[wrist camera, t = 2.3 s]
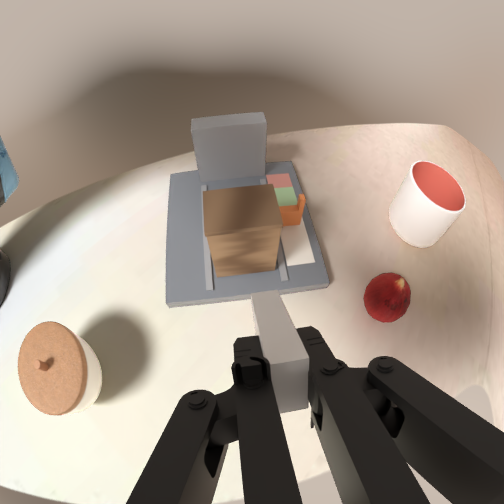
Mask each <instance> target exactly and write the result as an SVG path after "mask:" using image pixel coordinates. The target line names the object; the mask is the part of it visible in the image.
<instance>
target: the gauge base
mask: <svg viewBox="0 0 504 504" xmlns="http://www.w3.org/2000/svg"><path fill="white" fill-rule="evenodd" d="M191 133H192V140H193V145H194V150H195V156H196V161H197V166H198V170H195V171H188V172H181V173H175V174H171V176H170V188H169V201H168V217H167V240H166V304H167V305H168V306H169V308H170V307H181V306H191V305H201V304H210V303H219V302H228V301H236V300H244V299H251V293H257V292H265V291H272V290H278V292H279V294H280V295H282V294H289V293H296V292H302V291H309V290H315V289H322V288H327V286H328V285H329V283H330V282H329V278H328V274H327V271H326V267H325V264H324V260H323V257H322V253H321V250H320V247H319V243H318V240H317V237H316V233H315V230H314V227H313V224H312V221H311V217H310V214H309V211H308V208H307V205H306V202H305V206H304V210H303V214H302V218H301V223H300V225H292V226H283V228H281V233H280V240H279V246H278V253H277V259H276V266H275V270H274V271H266V272H258V273H250V274H242V275H234V276H226V277H217V275H216V272H215V268H214V264H213V260H212V256H211V253H210V249H209V245H208V241H207V237H205V234H204V216H203V191H208V190H217V189H225V188H234V187H243V186H253V185H264V184H273V186H274V190H275V193H276V197H277V201H278V205H279V206H290V205H297V202H298V197H299V194H303V193H302V190H301V187H300V184H299V181H298V178H297V176H296V173H295V170H294V167H293V164H292V162H291V161H285V162H271V163H265V159H266V136H267V121H266V118H265V116H264V113H263V112H253V113H240V114H230V115H219V116H210V117H203V118H195V119H192V120H191Z"/></svg>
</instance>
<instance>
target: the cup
mask: <svg viewBox="0 0 504 504" xmlns="http://www.w3.org/2000/svg"><path fill="white" fill-rule="evenodd" d="M465 205H466V199H465V195H464V192H463V190H462V188H461V186H460V185H459V183H458V182H457V181H456V179H455V178H454V177H453V176H452V175H451V174H450V173H449V172H447V171H446V170H445V169H443V168H442V167H440V166H439V165H437V164H434V163H432V162H429V161H416V162H414V163H413V164H412V165H411V167H410V169H409V171H408V173H407V175H406V177H405V179H404V181H403V182H402V184H401V186H400V188H399V190H398V192H397V193H396V195H395V197H394V199H393V201H392V202H391V204H390V207H389V219H390V223H391V225H392V227H393V229H394V231H395V232H396V233H397V235H398V236H399V237H400V238H401V239H402V240H404V241H405V242H406V243H408V244H410V245H412V246H414V247H418V248H427V247H430V246H432V245H434V244H435V243H436V242H437V241H438V240H439V239H440V237H441V236H442V235H443V234H444V233H445V232H446V231H447V229H448V228H449V227H450V226H451V225H452V223H453V222H454V221H455V220H456V219H457V217H458V216H459V215H460V214H461V212H462V211H463V210H464V208H465Z"/></svg>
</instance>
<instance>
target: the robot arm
mask: <svg viewBox="0 0 504 504" xmlns="http://www.w3.org/2000/svg"><path fill="white" fill-rule="evenodd" d="M18 183H19V177H18V175H17V173H16V170H15V168H14V166H13V164H12V162H11V159H10V157H9V155H8V153H7V150H6V148H5V146H4V143H3V141H2V138H1V136H0V207H1V205H3V204H4V203H5V202H6V201H7V199H8V197H9V196H10V195H11V194H12V193H13V192H14V191H15V190H16V188H17V186H18ZM9 278H10V262H9V259H8V257H7V255H6V254H5V253H4V252H3V251H2V250H1V249H0V305H1V303H2V301H3V299H4V296H5V294H6V291H7V287H8V283H9ZM251 300H252V309H253V317H254V326H255V334H256V336H249V337H242V338H237V340H236V341H235V343H234V344H233V346H234V363H233V364H232V367H231V369H232V374H233V379H234V385H233V386H232V387H231V388H230V389H228V390H227V391H225V392H222V393H220V394H217V395H214V394H213V393H211V392H210V391H206V390H194V391H190V392H188V393H186V394H185V395H183V396H182V398H181V399H180V400H179V402H178V404H177V406H176V408H175V410H174V412H173V414H172V416H171V418H170V420H169V422H168V424H167V426H166V427H165V429H164V431H163V433H162V435H161V437H160V439H159V441H158V443H157V445H156V447H155V449H154V451H153V453H152V455H151V456H150V458H149V460H148V462H147V464H146V466H145V468H144V470H143V472H142V474H141V476H140V478H139V480H138V481H137V483H136V485H135V487H134V489H133V491H132V493H131V495H130V497H129V499H128V501H127V503H126V504H211V503H212V500H213V497H214V493H215V490H216V487H217V483H218V480H219V477H220V473H221V470H222V466H223V463H224V459H225V456H226V452H227V449H228V444H229V443H231V442H234V441H237V440H239V449H240V460H241V471H242V481H243V491H244V501H245V504H302V499H301V496H300V492H299V488H298V484H297V480H296V476H295V472H294V469H293V465H292V461H291V457H290V453H289V449H288V445H287V441H286V437H285V433H284V429H283V425H282V421H281V417H280V413H285V412H291V411H296V410H301V409H306V408H308V403H309V402H310V405H311V428H314V425H315V428H316V431H317V434H318V437H319V439H320V442H321V445H322V448H323V450H324V453H325V456H326V459H327V462H328V464H329V467H330V470H331V473H332V475H333V478H334V481H335V484H336V487H337V489H338V492H339V495H340V498H341V500H342V503H343V504H430V502H429V500H428V499H427V497H426V495H425V494H424V492H423V490H422V488H421V487H420V485H419V483H418V481H417V480H416V478H415V476H414V474H413V473H412V471H411V469H410V468H409V466H408V464H409V465H410V466H411V467H412V468H413V469H415V470H416V471H417V472H418V473H419V474H420V475H421V476H422V477H423V478H424V479H425V480H426V481H427V482H429V483H430V484H431V485H432V486H433V487H434V488H435V489H436V490H438V491H439V492H440V493H441V494H442V495H443V496H444V497H445V498H446V499H448V500H449V501H450V502H451V503H452V504H504V432H502V431H501V430H499V429H498V428H496V427H495V426H493V425H492V424H490V423H489V422H487V421H486V420H484V419H483V418H481V417H480V416H479V415H477V414H476V413H474V412H472V411H471V410H470V409H468V408H467V407H465V406H464V405H462V404H461V403H459V402H458V401H457V400H455V399H454V398H452V397H451V396H449V395H448V394H446V393H445V392H443V391H442V390H441V389H439V388H438V387H436V386H435V385H433V384H432V383H430V382H429V381H427V380H426V379H425V378H423V377H422V376H420V375H419V374H417V373H416V372H414V371H413V370H411V369H410V368H409V367H407V366H406V365H404V364H403V363H401V362H400V361H398V360H397V359H395V358H393V357H388V356H380V357H377V358H374V359H373V360H371V361H370V363H369V365H368V368H350V367H348V366H347V365H346V364H345V363H344V362H343V361H341V360H339V359H336V358H335V357H334V355H333V353H332V352H331V350H330V348H329V347H328V345H327V344H326V343H325V340H324V339H323V338H322V335H321V334H320V332H319V331H318V330H317V329H315V328H314V327H312V326H309V327H303V328H298V329H296V328H295V326H294V324H293V322H292V320H291V318H290V316H289V313H288V311H287V309H286V307H285V305H284V303H283V301H282V299H281V297H280V294H279V292H278V290H272V291H265V292H257V293H251ZM406 462H407V463H408V464H407V463H406Z"/></svg>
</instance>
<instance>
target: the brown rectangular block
mask: <svg viewBox="0 0 504 504" xmlns="http://www.w3.org/2000/svg"><path fill="white" fill-rule="evenodd" d="M203 216H204V234H205V237H207V241H208V245H209V249H210V253H211V256H212V260H213V264H214V268H215V272H216V275H217V277H226V276H234V275H242V274H250V273H258V272H266V271H274V270H275V266H276V259H277V253H278V246H279V240H280V233H281V228H283V221H282V217H281V213H280V209H279V205H278V201H277V197H276V193H275V190H274V186H273V184H264V185H253V186H243V187H234V188H225V189H217V190H208V191H203Z"/></svg>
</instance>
